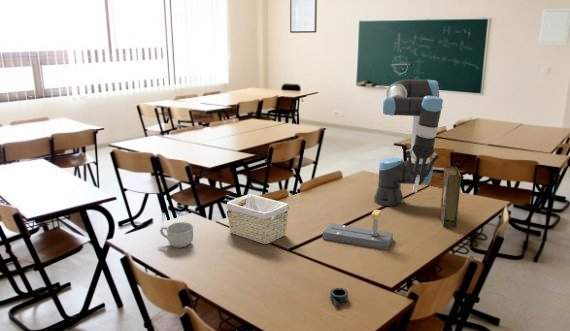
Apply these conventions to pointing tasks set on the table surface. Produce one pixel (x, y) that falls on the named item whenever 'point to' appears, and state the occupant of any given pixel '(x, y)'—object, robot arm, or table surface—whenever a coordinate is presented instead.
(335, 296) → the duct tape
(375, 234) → the fader knob
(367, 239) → the fader console
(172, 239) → the teacup
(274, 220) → the storage basket
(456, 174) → the book
